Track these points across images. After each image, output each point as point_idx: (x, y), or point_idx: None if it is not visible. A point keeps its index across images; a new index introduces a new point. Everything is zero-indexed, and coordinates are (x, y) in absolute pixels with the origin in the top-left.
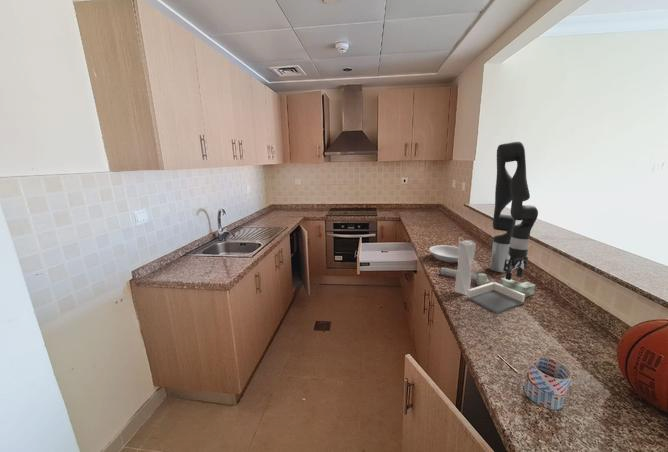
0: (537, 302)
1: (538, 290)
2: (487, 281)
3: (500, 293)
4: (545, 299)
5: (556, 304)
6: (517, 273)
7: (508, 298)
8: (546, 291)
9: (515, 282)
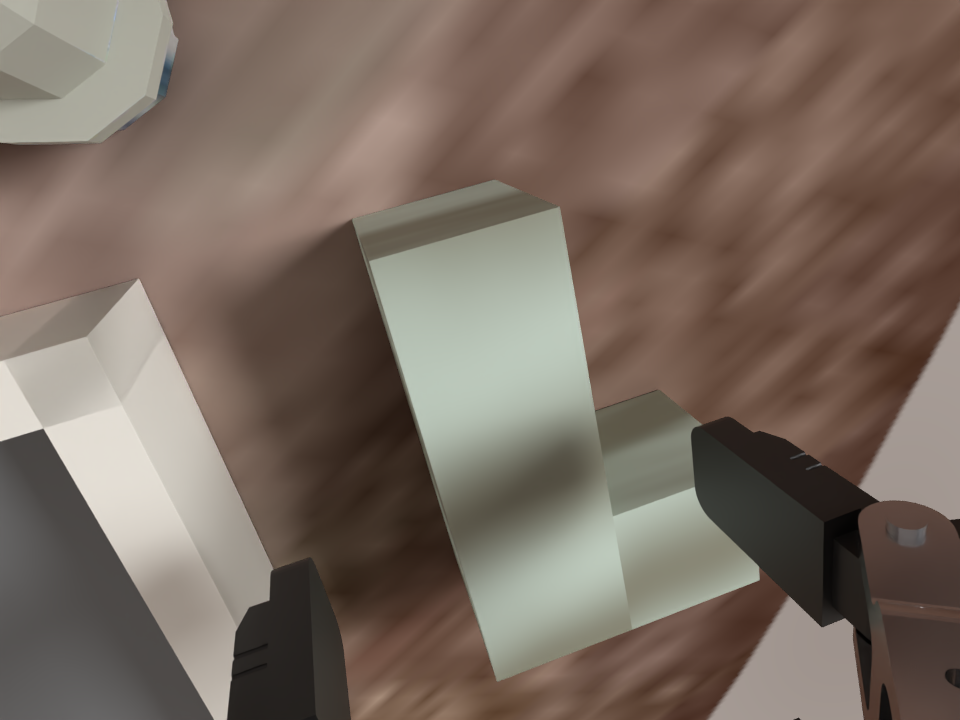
0: None
1: (820, 404)
2: (44, 143)
3: None
4: None
5: (665, 692)
6: (732, 465)
7: (156, 644)
8: (874, 438)
9: (528, 479)
